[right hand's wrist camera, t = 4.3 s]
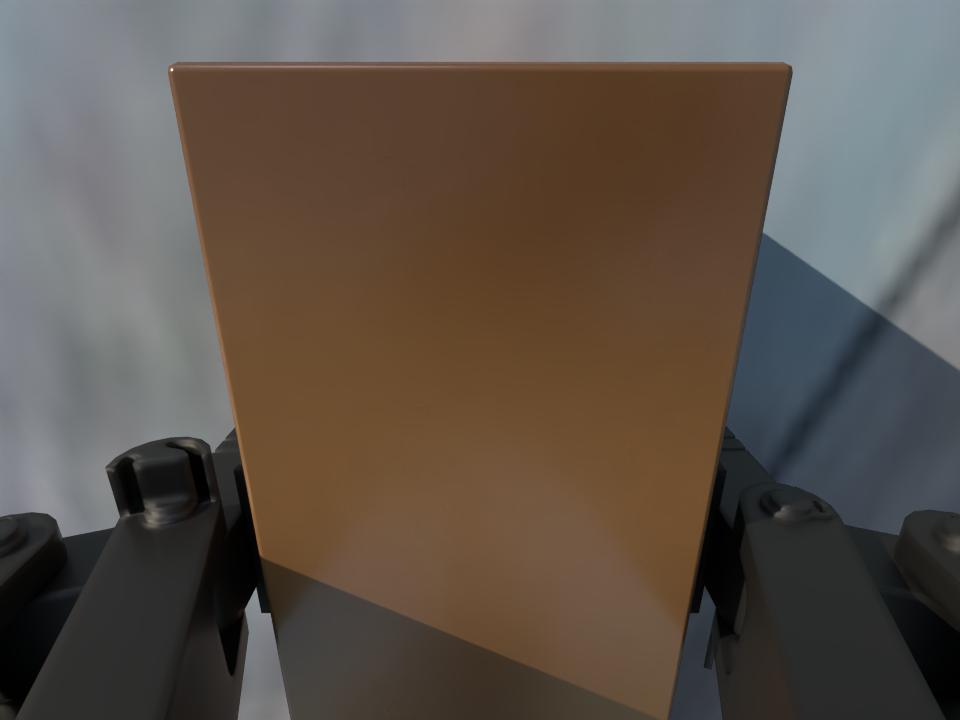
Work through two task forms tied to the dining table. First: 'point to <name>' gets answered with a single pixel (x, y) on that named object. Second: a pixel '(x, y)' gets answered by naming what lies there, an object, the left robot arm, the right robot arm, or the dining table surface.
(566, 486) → the beam
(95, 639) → the right robot arm
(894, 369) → the dining table surface
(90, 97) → the dining table surface
